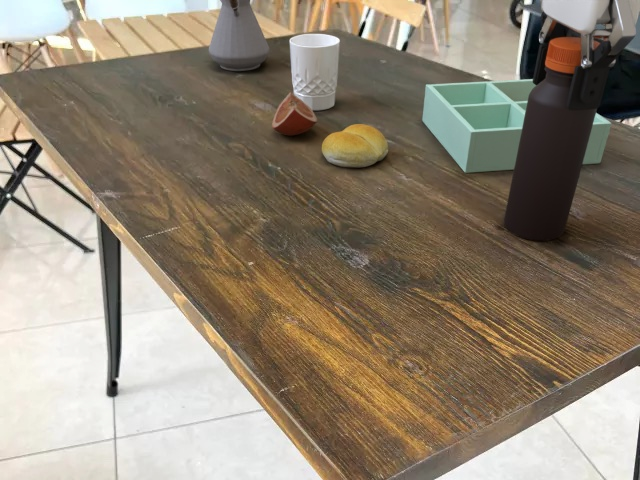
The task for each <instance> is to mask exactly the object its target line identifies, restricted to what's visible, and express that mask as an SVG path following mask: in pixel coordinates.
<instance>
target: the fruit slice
mask: <svg viewBox="0 0 640 480" xmlns="http://www.w3.org/2000/svg"><path fill="white" fill-rule="evenodd" d="M317 122H318V118H317V116H316V114H315V113H314V111H312V109H311V108H310V107H309V106H308V105H306V104H305V103H304V102H303V101H302V100H301V99H299V98H298V97H297V96H295V94H294V92H292V91H289V93H287V95H286V96H285V97H284V98H283V99H282V100H281V101H280V102H279V104H278V106H277V108H276V111H275V114H274V116H273V119H272V123H271V128H272V129H274V130H275V131H276V132H277V133H279V134H282V135H284V136H297V135H300V134H303V133H305V132H307V131H308V130H310V129H311V128H313V127H314V126H315V125H316V124H317Z"/></svg>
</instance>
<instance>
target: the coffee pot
mask: <svg viewBox="0 0 640 480" xmlns="http://www.w3.org/2000/svg"><path fill="white" fill-rule="evenodd" d="M219 1H220V2H221V6H220V10H219V14H218V17H217V20H216V24H215V26H214V30H213V33H212V36H211V39H210V43H209V47H208V54H209V56H210V57H211V60H213V61H214V62H215V64H218V65H219V67H220V68H221V69H223V70H227V71H234V72H242V71H243V72H245V71H251V70H255V69H258V68H259V67H260V66H261V64H262V63H263V62H265V61H266V59H268V56H269V53H270V50H271V48H270V46H269V44H268V41H267V39H266V37H265V35H264V32H263V30H262V28H261V26H260V23H259V22H258V19H257V17H256V14H255V12H254V10H253V7H252V5H251V0H219Z"/></svg>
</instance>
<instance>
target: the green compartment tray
mask: <svg viewBox="0 0 640 480" xmlns="http://www.w3.org/2000/svg"><path fill="white" fill-rule="evenodd" d="M535 86H536V85H535V84H533V78H530V79H529V78H527V79H509V80H508V79H507V80H489V81H471V82H470V81H469V82H453V83H452V82H450V83H433V84H425V91H424V101H423V110H422V120H421V121H422V122H423V124H424V126H426V127H427V129H428V130H429V131H430V132H431V133H432V135H434V137H435V138H436V139H437V141H438V142H439V143H440V144H441V146H442V147H443V148H444V149H445V150H446V151H447V153H448V154H449V155H450V157H451V158H452V159H453V160H454V161H455V162H456V164H457V165H458V166H459V167H460V169H461V170H462V171H463V172H464V173H465V174H469V173H470V174H471V173H481V172H482V173H484V172H498V171H511V170H514V167H515V162H516V157H517V152H518V147H519V142H520V137H521V132H522V127H523V122H524V117H525V112H526V107H527V102H528V97H529V94H530V92H531V90H532V89H533V88H534V87H535ZM612 124H613V123H612V122H610V121H609V120H608V119H607V118H605V117H603V116H602V115H600V114H599V113H597V112H596V115H595V118H594V122H593V126H592V130H591V133H590V137H589V141H588V145H587V149H586V152H585V156H584V160H583V164H582V165H593V164H601V162H602V159H603V155H604V152H605V148H606V146H607V141H608V138H609V134H610V130H611V128H612Z"/></svg>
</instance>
